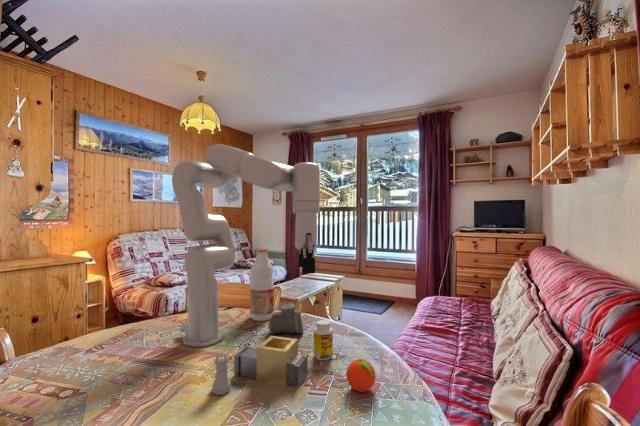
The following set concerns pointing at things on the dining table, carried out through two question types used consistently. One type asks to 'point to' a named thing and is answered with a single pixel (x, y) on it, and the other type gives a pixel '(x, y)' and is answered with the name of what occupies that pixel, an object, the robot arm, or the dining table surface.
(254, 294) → the fruit juice
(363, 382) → the clementine
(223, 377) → the rook chess piece
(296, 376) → the valve body
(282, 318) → the pipe fitting
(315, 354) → the supplement bottle
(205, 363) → the dining table surface
